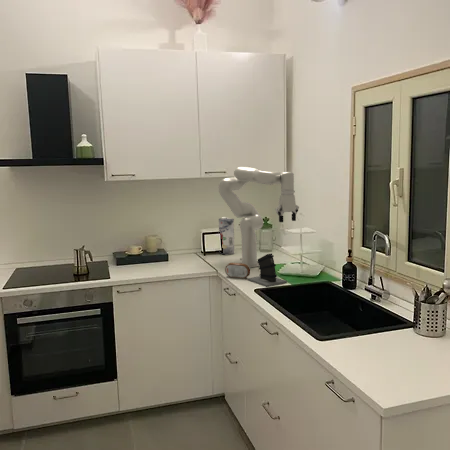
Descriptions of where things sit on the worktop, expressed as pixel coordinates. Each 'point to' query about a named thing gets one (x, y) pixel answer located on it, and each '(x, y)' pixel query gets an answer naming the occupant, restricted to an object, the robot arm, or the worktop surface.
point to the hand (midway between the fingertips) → (287, 221)
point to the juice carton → (227, 235)
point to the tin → (237, 270)
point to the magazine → (267, 268)
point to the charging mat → (265, 282)
